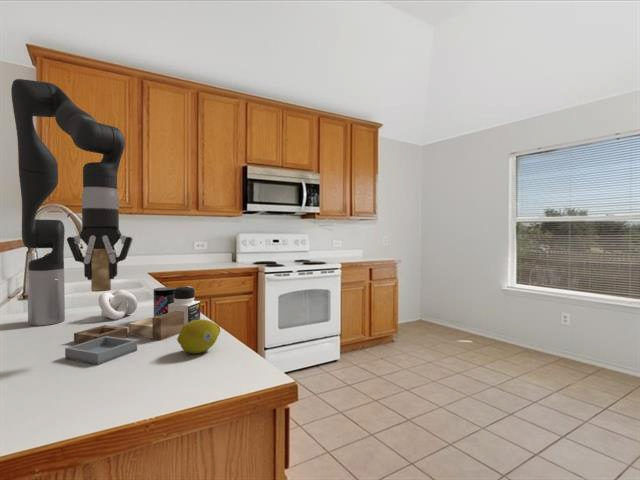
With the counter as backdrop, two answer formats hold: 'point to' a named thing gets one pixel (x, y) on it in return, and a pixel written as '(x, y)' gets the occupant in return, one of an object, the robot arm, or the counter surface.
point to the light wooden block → (141, 328)
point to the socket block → (100, 333)
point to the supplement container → (162, 300)
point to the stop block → (167, 325)
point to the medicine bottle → (185, 304)
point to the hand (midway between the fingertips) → (101, 278)
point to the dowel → (100, 271)
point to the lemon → (198, 336)
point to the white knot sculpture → (117, 304)
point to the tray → (100, 350)
